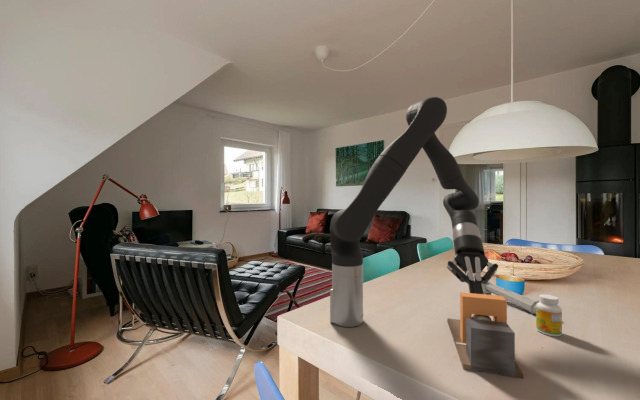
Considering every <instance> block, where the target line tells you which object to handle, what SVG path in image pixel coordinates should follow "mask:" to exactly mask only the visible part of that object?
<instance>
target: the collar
mask: <svg viewBox="0 0 640 400" xmlns="http://www.w3.org/2000/svg"><path fill="white" fill-rule="evenodd" d="M459 294H460V295H459V307H460V308H459V314H460V315H459V318H460V319H459V320H460V338H461V340H462V343H466V318H469V319H472V314H477V315H486V316H489V317H493V318H492V321H496V322H505V323H507V324H508V322H507V321H508V320H507V319H508V307H507V305H508V301H507V300H506V299H505V298H504V297H503V296H497V295H495V294H491V295H485V294H474V293H470V292H462V291H461V292H460V293H459Z"/></svg>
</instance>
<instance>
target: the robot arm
mask: <svg viewBox="0 0 640 400" xmlns="http://www.w3.org/2000/svg"><path fill="white" fill-rule="evenodd" d="M447 114H448V107H447V103H446V102H445V100H444V99H442V98H440V97H438V96H432V97H431V96H430V97H427V98H425V99H423V100H419V101H417V102H415V103H413V104H411V105H410V106H409V107H408V109H407V110H406V115H405V119H406V123H407V126H408V127H406V129H405V131H404V132H402V133H401V134H400V136H398V137H397V138H396V139H395V140H393V141H392V142H391V143H390V144H389V145H388V146H387V147H385V148H384V149H383V151H382V152H381V153H380V154H379V155H378V157H377V158H376V159H375V161H374V163H372V166H371V167H370V168H369V170H368V172H367V175H366V177H365V179H364V181H363V184H362V186H361V188H360V190H359V192H358V194H357V195H356V197H355V198H354V199H353V200H352V201H351V203H350V204H348V206H347V208H345V209H341V210H338V211H336V212H335V213H334V214H333V215H332V217H331V219H330V223H329V224H330V225H329V233H330V234H329V236H330V237H329V238H330V253H331V289H329V290H330V291H329V297H330V298H329V308H330V309H329V313H330V314H329V320H330V321H329V322H330V323H333V324H335V325H337V326H340V327H345V328H353V327H358V326H360V325H362V324H363V323H364V255H363V252H362V250H361V243H360V241H361V240H360V239H362V237H363V236H364V235H365V233H366V231H367V229H369V226H370V224H371V223H372V220H373V218H374V217H375V215H376V214H377V212H378V211H379V209H380V207H381V205H383V203H384V202H385V201H386V199H387V198H388V196H389V195H390V194H391V192H392V190H394V188H395V187H396V186H397V184H399V182H400V180H401V179H402V178H403V176H404V175H405V173H406V172H407V170H408V169H409V167H410V165H411V164H412V163H413V161H414V160H415V159H416V157H417V155H418V154H419V153H420V152H421V150H422V149H423V151H424V153H425V154H426V156H427V157H428V160H429V161H430V163H431V165H432V168H433V169H434V171H435V174H436V177H437V179H438V181H439V183H440V186H441V188H442V189H444V190H458V191H455V192H452V193H449V194H447V195H445V196H444V198H443V200H442V204H443V207H444V208H445V211H446V212H447V213H448V216H449V218H450V220H451V221H450V222H451V227H452V243H453V248H454V255H455V256H454V257H453V258H454V259H453V260H452V261H451V260H448V261H447V266H446V268H447V270H449V272H450V273H452V274H453V276H455V278H457V279H458V280H459V281H460V282H461V283H466V284H467V285H468V290H469V293H474V294H482V293H483V289H482V284H486V283H487V282H488V281H491V279H492V278H493V276H494V275H495V274H496V273H497V271H498V268H499V265H498V264H497V263H492V262H490V261H489V258H488V257H487V256H486V254H485V253H486V252H485V248H484V244H483V240H482V236H481V232H480V229H479V226H478V221H477V217H476V215H475V213H474V212H472V211H473V210H476V209H477V208H478V206H479V203H480V201H479V197H478V195H477V194H476V192H475V191H474V190H473V189H472V188H471V187H470V185H469V184H468V182H467V181H466V180H465V178H464V176H463V174H462V172H461V168H460V166H459V164H458V161H457V160H456V158H455V157H454V155H453V154H452V153H451V151H449V150H448V149H447V148H446V147H445V146H444V144H443V143H442V142H441V141H440V139H439V138H438V136H437V135H436V132H437V130H439V128H440V127H441V126H442V125H443V123H444V122H445V120H446V117H447ZM485 268H486V270H487V271H486V272H485V274H484V275H483V276H482V272H483V271H484V269H485Z"/></svg>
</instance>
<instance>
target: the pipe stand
mask: <svg viewBox="0 0 640 400" xmlns="http://www.w3.org/2000/svg"><path fill="white" fill-rule="evenodd" d="M447 324H448V327H449V330H450V333H451V336H452V339H453V342H454V346H455V349H456V351H457V354H458V355H457V356H458V357H459V361H460V364H461V367H462V369H463V370H469V371H476V372H480V373H481V372H482V373H488V374H493V375H499V376H506V377H512V378H518V379H524V372H523V371H522V369H521V368H520V366H519V365H518V364H517V361H516V357H515V356H516V355H515V354H516V353H515V352H516V351H515V349H516V344H515V343H516V342H515V339H516V334H515V331H514V330H513V329H512V328H511V327H510V326H509V324H508V322H507V323H505V322H496V321H493V319H492V318H491V316H486V315H477V314H472V319H469V318H466V343H462V340H461V338H460V319H458V318H457V319H456V318H447Z"/></svg>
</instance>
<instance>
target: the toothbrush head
mask: <svg viewBox="0 0 640 400" xmlns="http://www.w3.org/2000/svg"><path fill="white" fill-rule="evenodd" d="M482 289H483V293H482V294H485V295H496V296H503V297H504V298H505V299H506V300H507V302H509V303H511V304H513V305H516V306H518V307H519V308H521V309H524V310H525V311H528V312H530V314H531V315H535V316H536V305H537V303H539V302H540V300H534V299H531V298H529V297H528V296H527V297H526V296H524V295H521V294H519V293H517V292H515V291H514V292H513V291H512V290H509V289H507V288H504V287H502V286H499V285H498V284H497V285H496V284H495V283H494V284H493V283H491V280H489V281H488V282H487V283H486V284H482Z"/></svg>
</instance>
